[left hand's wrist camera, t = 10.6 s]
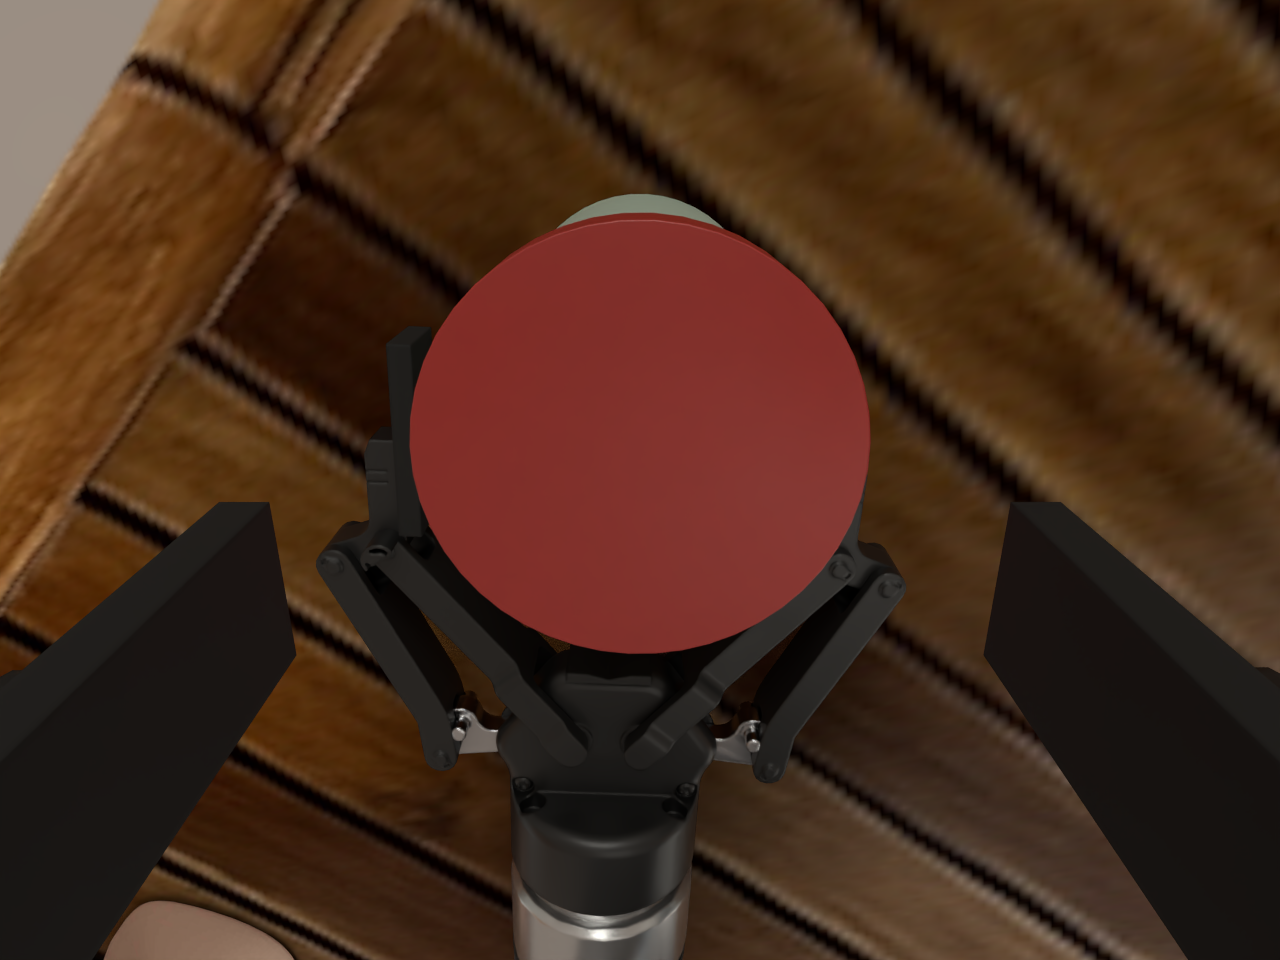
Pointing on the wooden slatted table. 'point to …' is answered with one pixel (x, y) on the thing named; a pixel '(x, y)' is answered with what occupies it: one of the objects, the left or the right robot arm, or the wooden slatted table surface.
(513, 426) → the lid
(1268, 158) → the wooden slatted table surface
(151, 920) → the anatomical model
